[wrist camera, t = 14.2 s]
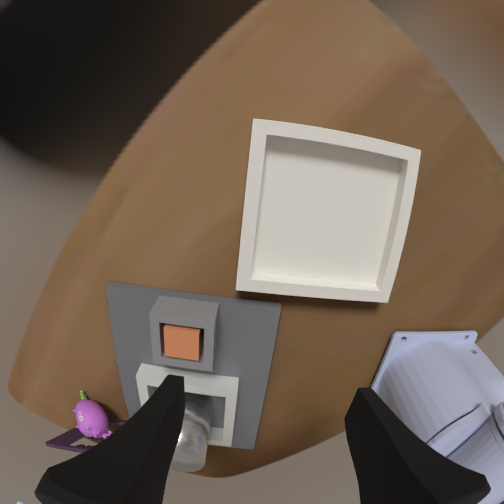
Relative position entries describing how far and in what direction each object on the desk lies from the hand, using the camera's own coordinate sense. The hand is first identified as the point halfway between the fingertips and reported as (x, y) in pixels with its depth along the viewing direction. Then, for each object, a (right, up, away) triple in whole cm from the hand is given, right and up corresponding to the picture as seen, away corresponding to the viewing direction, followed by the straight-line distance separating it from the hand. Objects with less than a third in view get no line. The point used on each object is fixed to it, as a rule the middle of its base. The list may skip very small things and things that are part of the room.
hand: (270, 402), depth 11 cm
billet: (-6, -6, +11) cm, 14 cm away
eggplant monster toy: (-16, -9, +13) cm, 23 cm away
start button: (-5, +1, +8) cm, 10 cm away
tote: (+4, +8, +7) cm, 12 cm away
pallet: (-6, -4, +12) cm, 14 cm away
